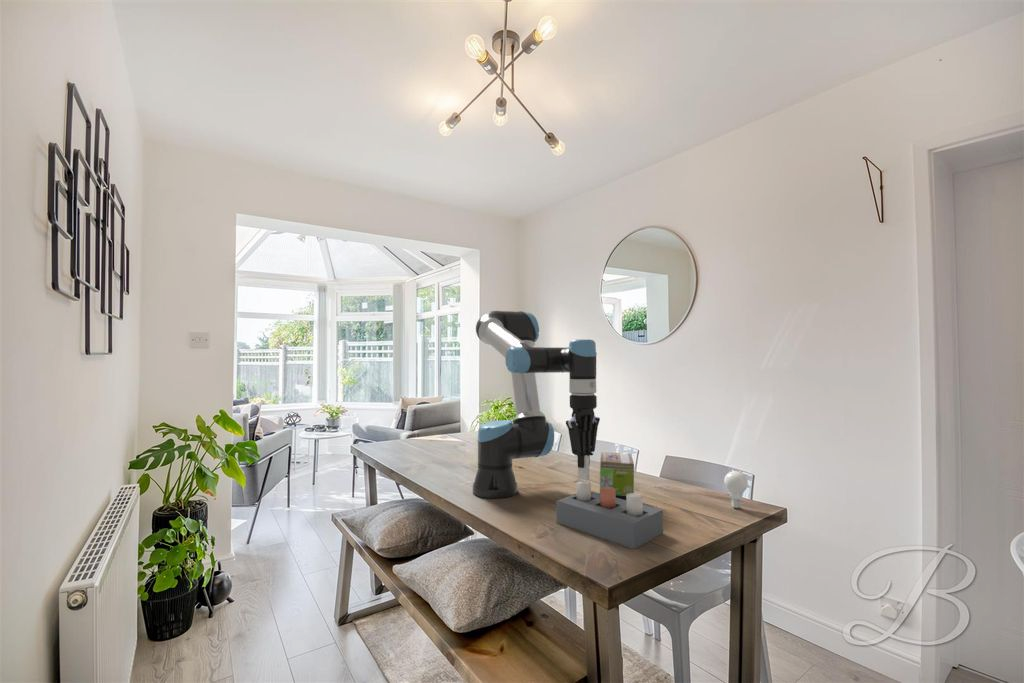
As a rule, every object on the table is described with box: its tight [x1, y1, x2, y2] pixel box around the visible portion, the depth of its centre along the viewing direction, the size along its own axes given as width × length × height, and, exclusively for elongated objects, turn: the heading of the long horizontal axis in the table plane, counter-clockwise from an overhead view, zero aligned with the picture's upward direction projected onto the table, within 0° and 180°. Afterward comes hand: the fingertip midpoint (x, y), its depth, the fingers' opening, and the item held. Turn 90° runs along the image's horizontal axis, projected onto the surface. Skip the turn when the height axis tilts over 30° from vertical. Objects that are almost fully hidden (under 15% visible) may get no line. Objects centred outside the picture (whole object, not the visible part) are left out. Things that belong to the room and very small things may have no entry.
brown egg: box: [599, 487, 616, 509], centre depth 121 cm, size 4×4×6 cm
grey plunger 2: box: [626, 492, 644, 517], centre depth 115 cm, size 4×4×6 cm
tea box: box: [599, 451, 635, 500], centre depth 140 cm, size 15×10×15 cm
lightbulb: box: [724, 470, 749, 510], centre depth 136 cm, size 6×6×11 cm
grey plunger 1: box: [575, 480, 592, 502], centre depth 127 cm, size 4×4×6 cm
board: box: [555, 490, 664, 550], centre depth 121 cm, size 24×14×6 cm, turn 44°
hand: (583, 478), depth 126 cm, fingers closed
